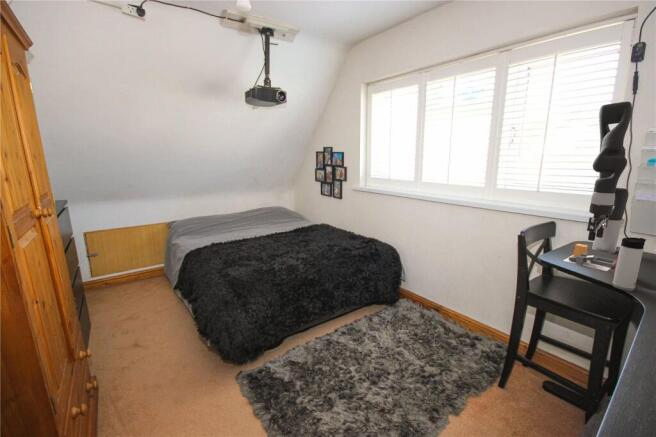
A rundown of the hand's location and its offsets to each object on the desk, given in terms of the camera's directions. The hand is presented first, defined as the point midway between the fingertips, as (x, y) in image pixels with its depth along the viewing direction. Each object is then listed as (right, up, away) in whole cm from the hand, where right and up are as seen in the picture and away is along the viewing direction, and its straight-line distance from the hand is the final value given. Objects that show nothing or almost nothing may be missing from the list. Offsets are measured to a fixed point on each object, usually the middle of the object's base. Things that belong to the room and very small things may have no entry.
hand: (595, 238), depth 137 cm
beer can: (+3, -16, -10) cm, 19 cm away
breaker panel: (+3, -12, +7) cm, 14 cm away
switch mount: (-1, -11, +6) cm, 13 cm away
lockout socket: (+8, -12, +5) cm, 15 cm away
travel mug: (-4, -18, -17) cm, 25 cm away
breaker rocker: (-1, -9, +5) cm, 11 cm away
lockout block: (+4, -10, +13) cm, 17 cm away
